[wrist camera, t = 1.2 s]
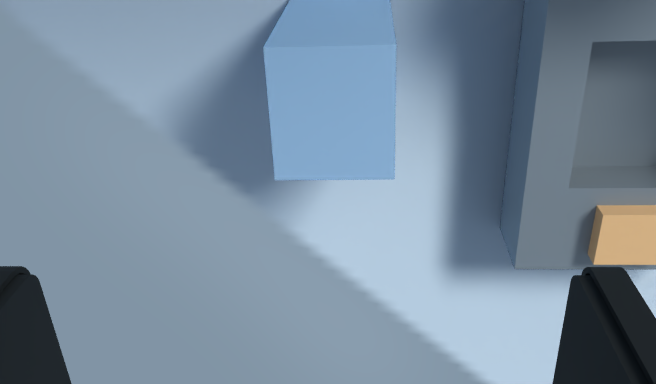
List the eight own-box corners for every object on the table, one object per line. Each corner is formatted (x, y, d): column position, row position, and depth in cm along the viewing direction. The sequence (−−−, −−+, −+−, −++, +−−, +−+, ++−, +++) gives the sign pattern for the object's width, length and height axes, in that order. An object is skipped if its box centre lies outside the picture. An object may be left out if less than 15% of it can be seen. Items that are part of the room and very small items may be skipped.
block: (292, -5, 26) (263, 47, 19) (388, -8, 26) (396, 44, 18) (298, 98, 28) (274, 180, 21) (388, 97, 28) (394, 179, 21)
